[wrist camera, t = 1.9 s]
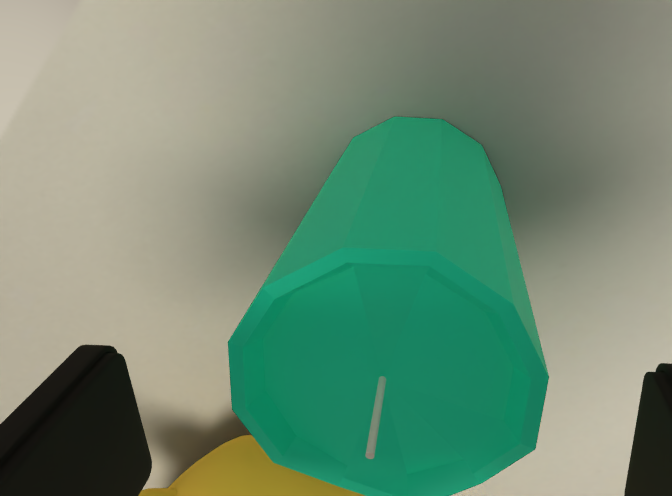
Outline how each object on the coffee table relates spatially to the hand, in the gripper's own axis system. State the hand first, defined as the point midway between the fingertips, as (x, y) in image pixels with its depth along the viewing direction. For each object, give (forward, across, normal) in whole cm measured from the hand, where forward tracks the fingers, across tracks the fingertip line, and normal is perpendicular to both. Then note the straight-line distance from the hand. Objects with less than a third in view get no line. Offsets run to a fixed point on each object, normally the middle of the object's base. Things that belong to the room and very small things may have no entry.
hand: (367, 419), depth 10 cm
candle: (+11, 0, 0) cm, 11 cm away
